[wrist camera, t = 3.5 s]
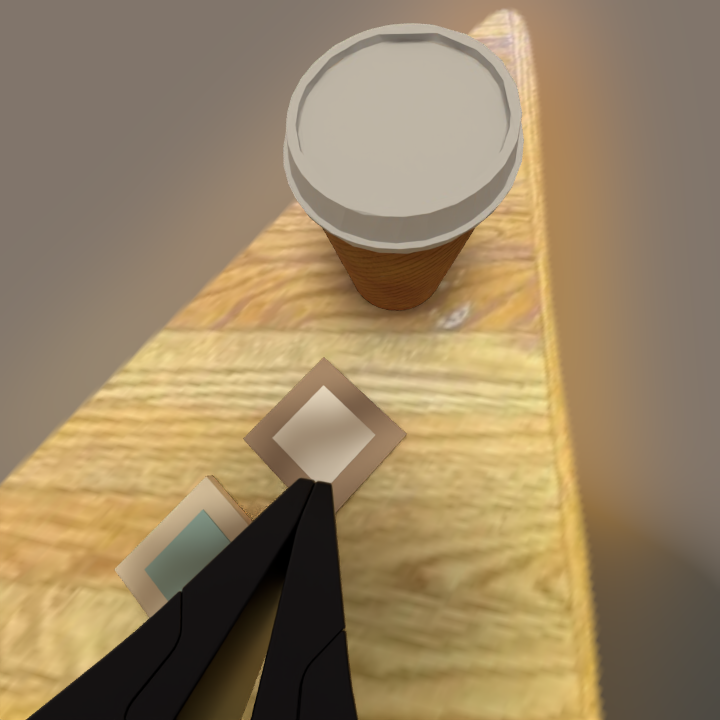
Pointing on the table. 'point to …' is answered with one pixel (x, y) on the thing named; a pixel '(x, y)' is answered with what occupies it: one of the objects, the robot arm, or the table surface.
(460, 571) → the table surface
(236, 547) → the robot arm
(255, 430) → the walnut marker tile
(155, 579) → the birch marker tile
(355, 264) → the disposable coffee cup
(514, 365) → the table surface
